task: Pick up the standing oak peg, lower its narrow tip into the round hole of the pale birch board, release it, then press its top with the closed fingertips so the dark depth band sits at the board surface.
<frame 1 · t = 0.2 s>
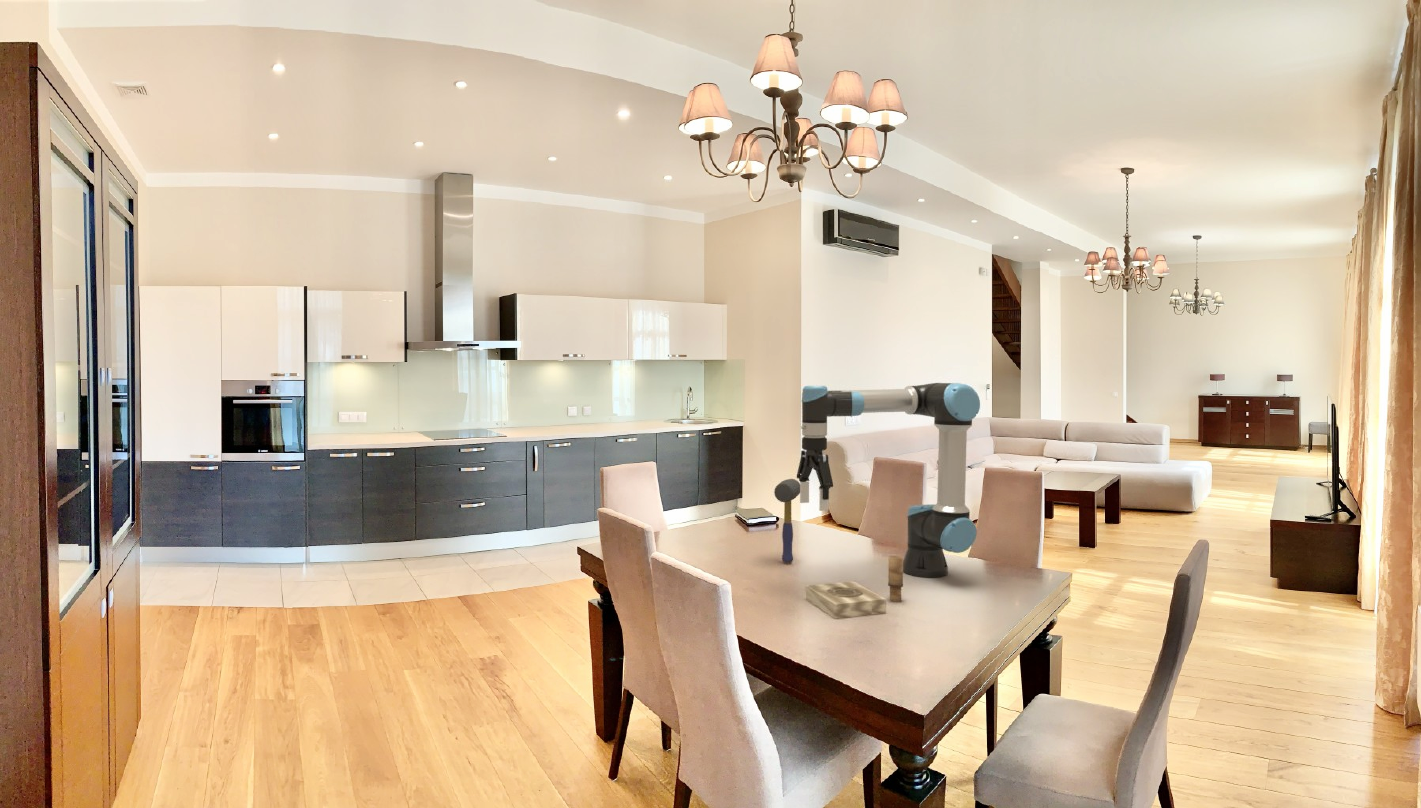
hand: (814, 506, 231), 28 cm above the table, fingers open, 13 cm apart
board: (844, 605, 223), on the table
peg: (895, 600, 228), on the table
rubber mallet: (787, 563, 271), on the table
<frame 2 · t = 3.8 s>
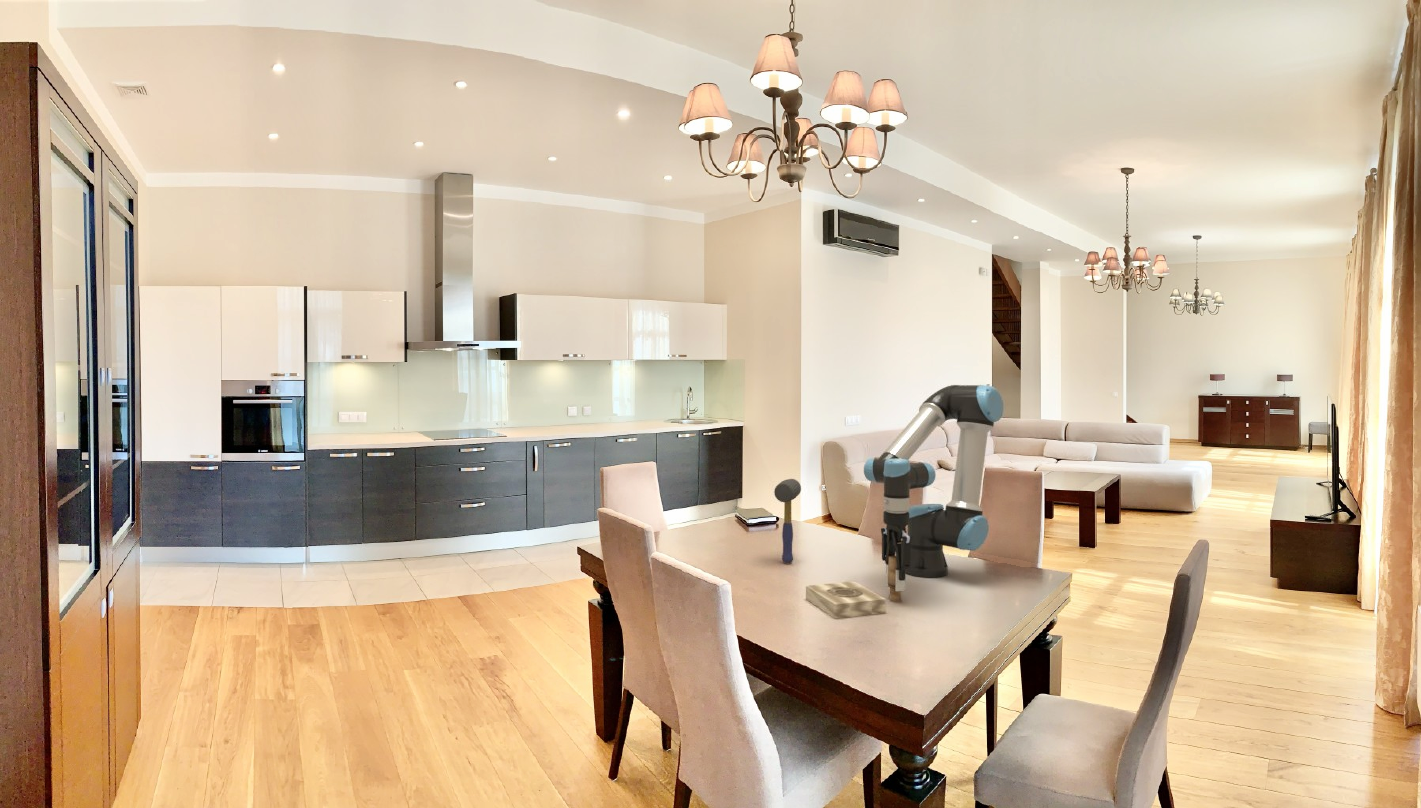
hand: (895, 588, 228), 4 cm above the table, fingers closed on peg, 4 cm apart
peg: (895, 600, 228), on the table, touching gripper
everything else where it was.
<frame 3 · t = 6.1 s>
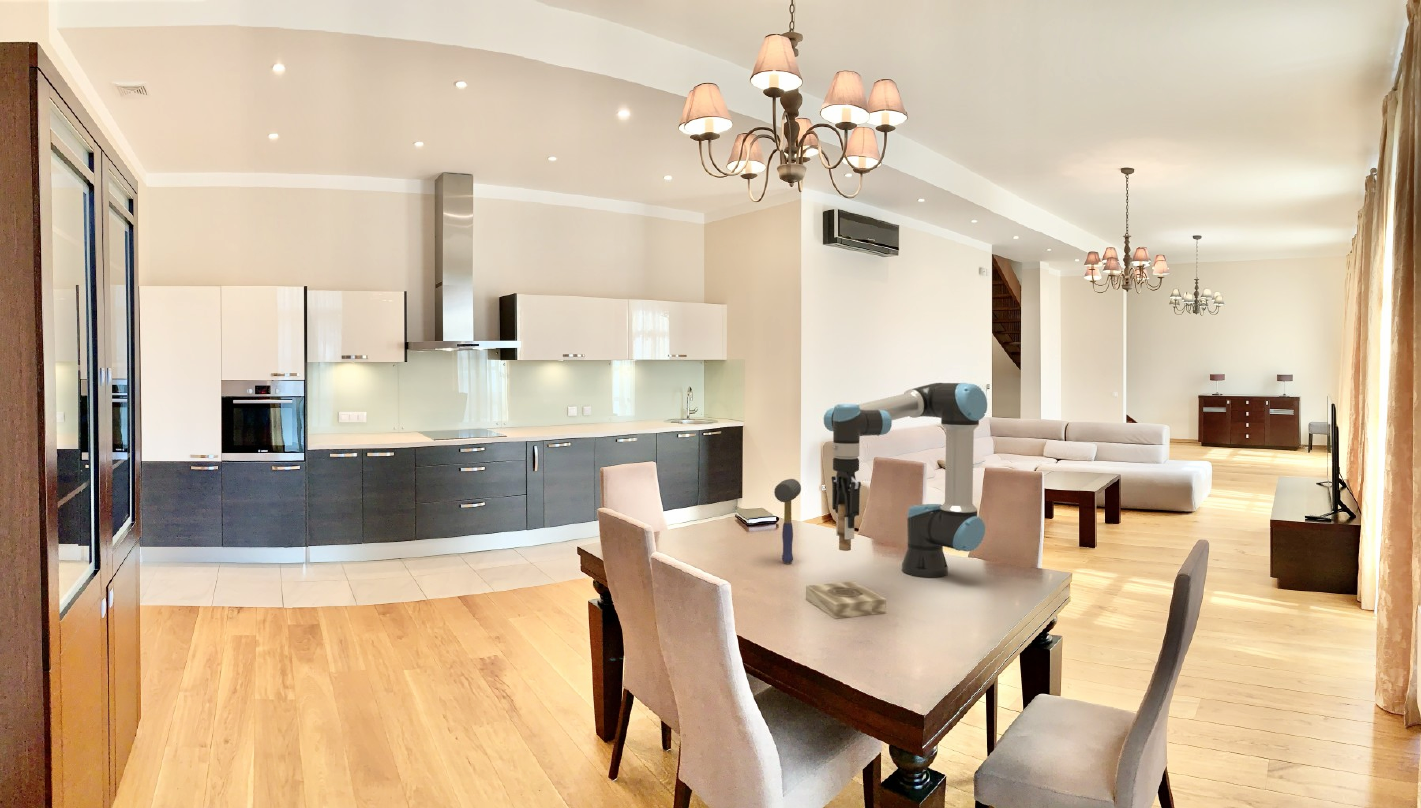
hand: (845, 536, 222), 20 cm above the table, fingers closed on peg, 4 cm apart
peg: (844, 549, 222), point 17 cm above the table, touching gripper
everything else where it was.
when the fingers open (5 cm above the table, at t = 8.7 s): peg stays where it is, resting in board.
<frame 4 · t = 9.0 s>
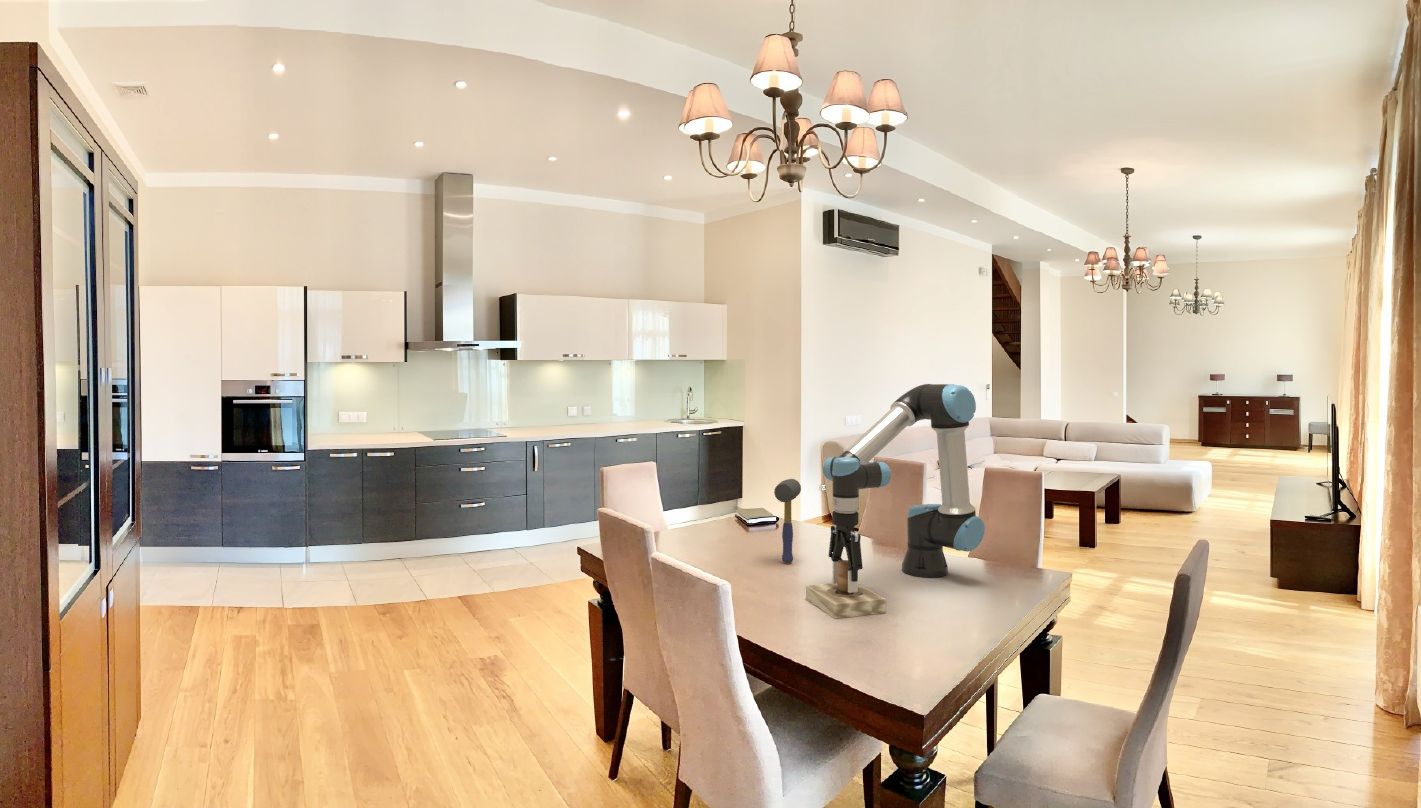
hand: (844, 587, 223), 5 cm above the table, fingers open, 9 cm apart
peg: (844, 605, 223), resting in board
everything else where it was.
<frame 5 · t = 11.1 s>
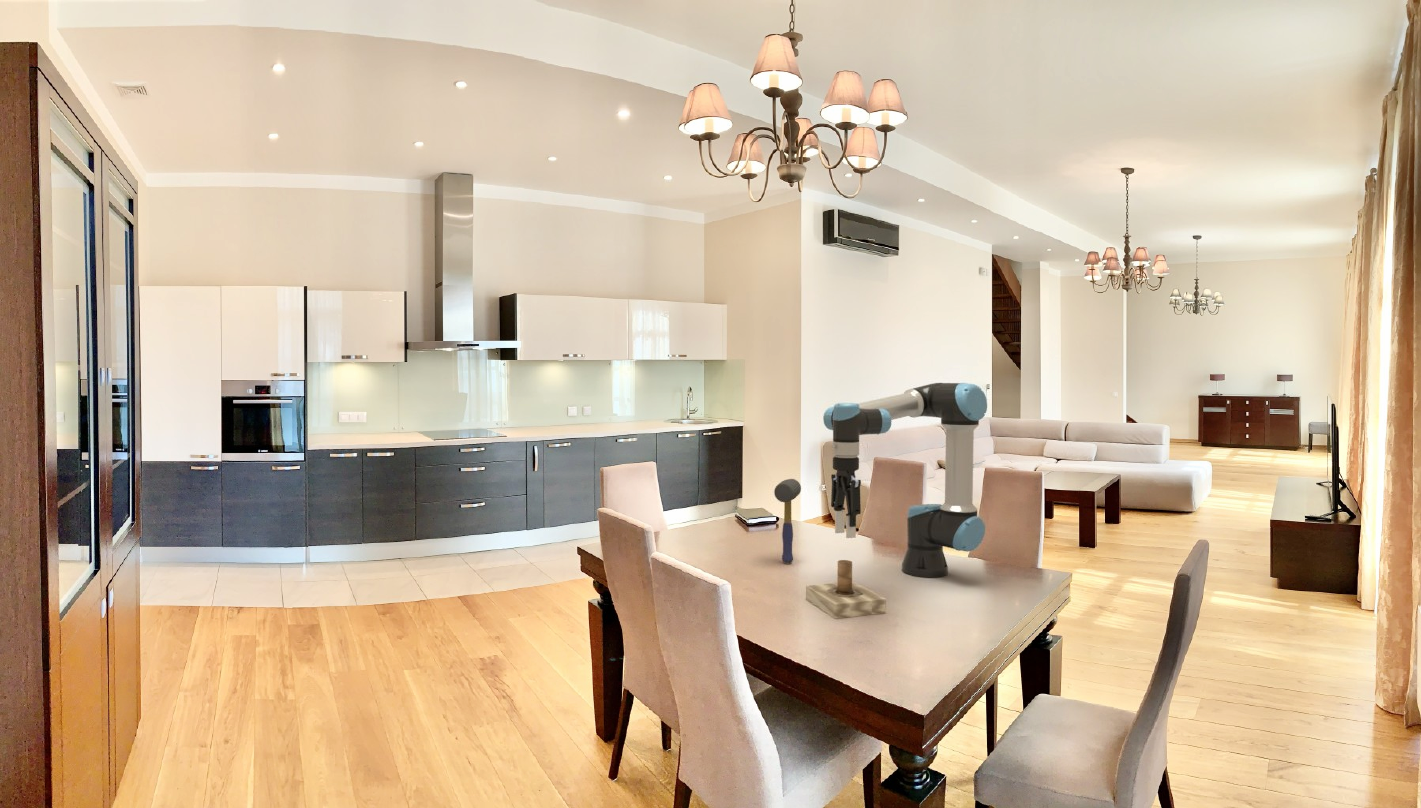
hand: (845, 534, 222), 21 cm above the table, fingers open, 6 cm apart
nothing on the table moved.
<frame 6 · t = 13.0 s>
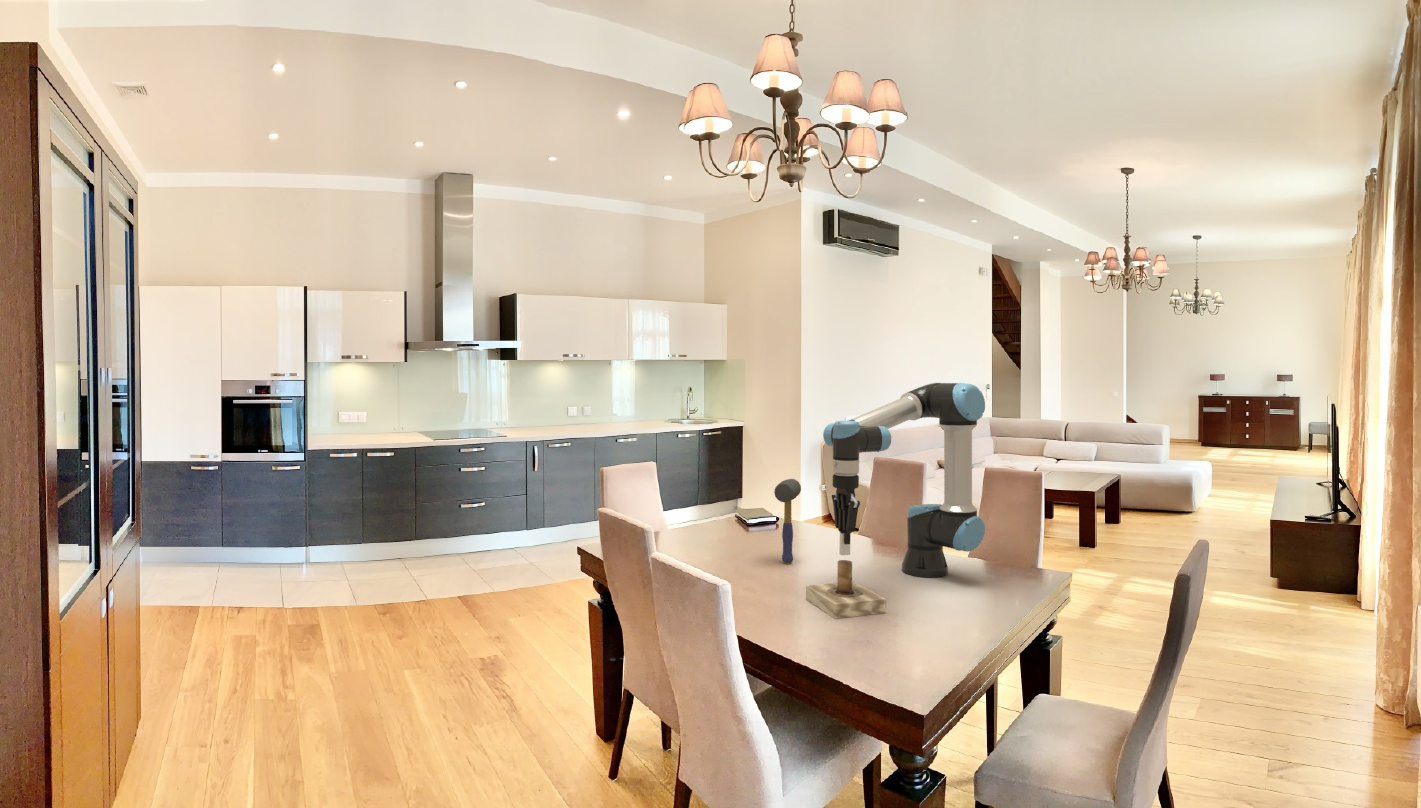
hand: (844, 554, 222), 15 cm above the table, fingers closed
nothing on the table moved.
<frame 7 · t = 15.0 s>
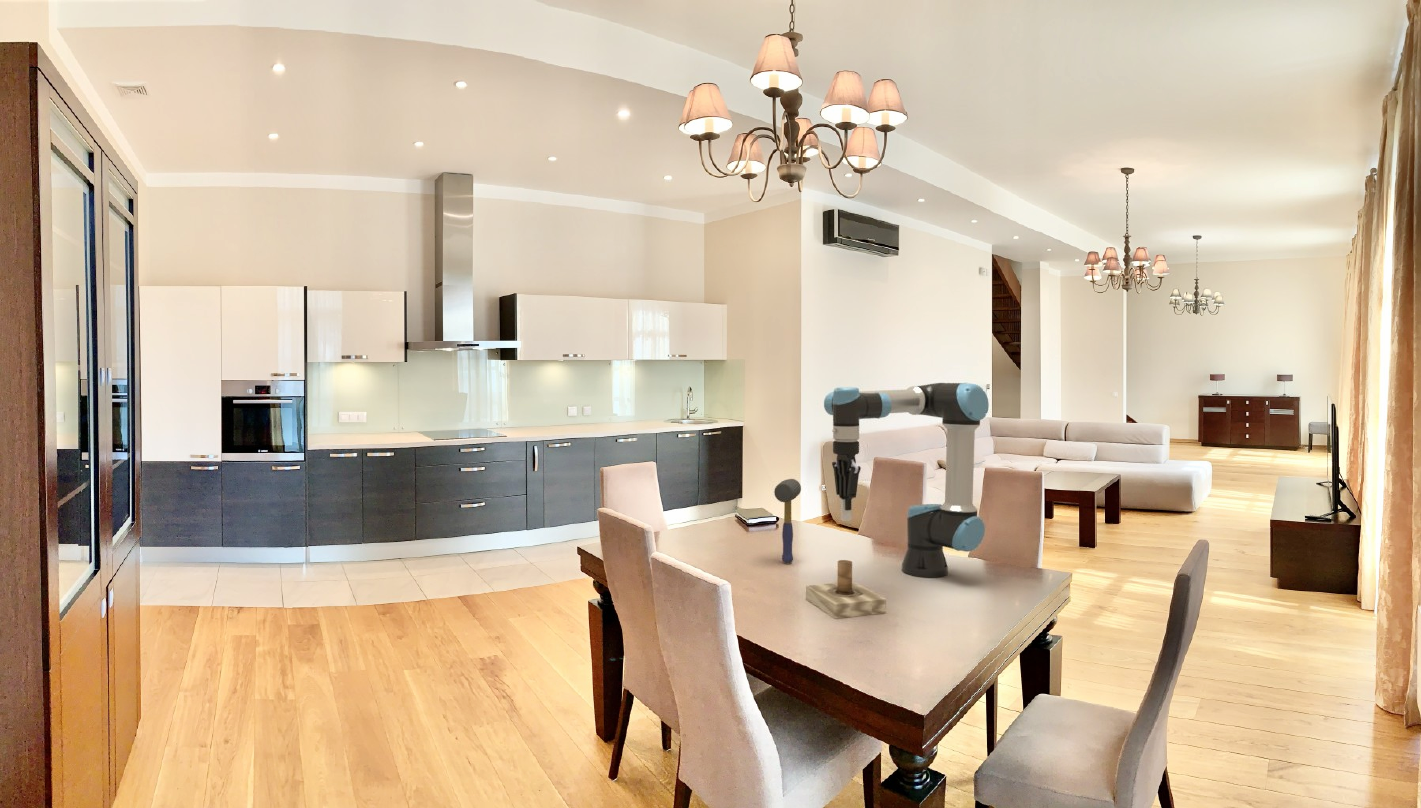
hand: (846, 520, 222), 25 cm above the table, fingers closed
nothing on the table moved.
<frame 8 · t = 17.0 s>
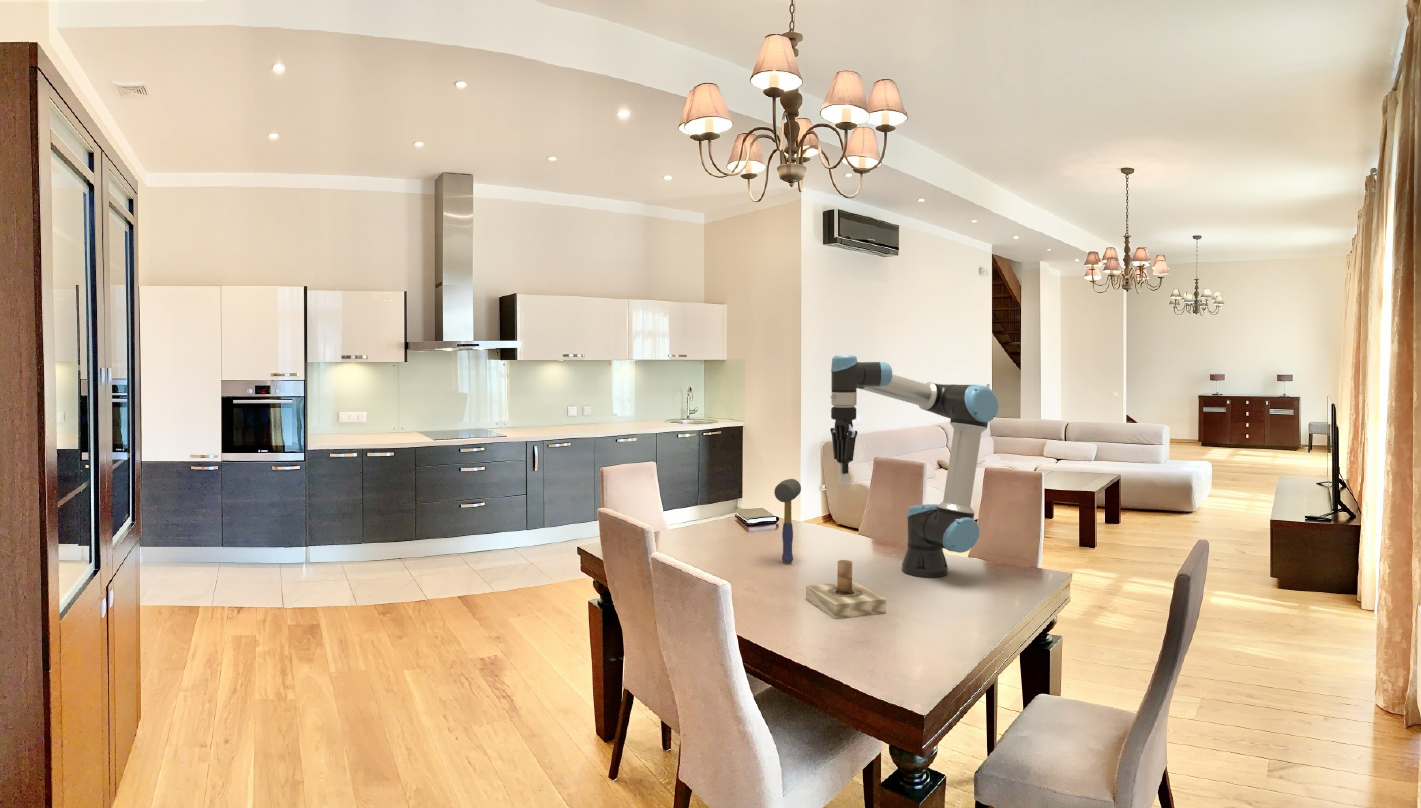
hand: (843, 483, 231), 34 cm above the table, fingers closed
nothing on the table moved.
at the end: peg 0.0 cm off-centre in the board, point 0.0 cm above the board's base; peg tilted 0°; the gripper is holding nothing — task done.
